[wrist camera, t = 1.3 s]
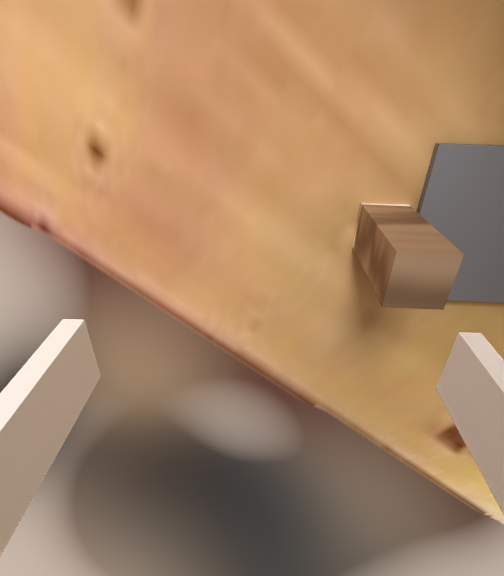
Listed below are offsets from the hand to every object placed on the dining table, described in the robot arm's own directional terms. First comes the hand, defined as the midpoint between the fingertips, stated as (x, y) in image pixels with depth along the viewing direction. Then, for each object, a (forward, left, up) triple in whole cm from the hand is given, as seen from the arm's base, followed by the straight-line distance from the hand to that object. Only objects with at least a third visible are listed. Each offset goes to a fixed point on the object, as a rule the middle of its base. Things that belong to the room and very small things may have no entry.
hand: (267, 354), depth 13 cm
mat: (+5, +23, -27) cm, 35 cm away
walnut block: (+5, +12, -27) cm, 30 cm away
